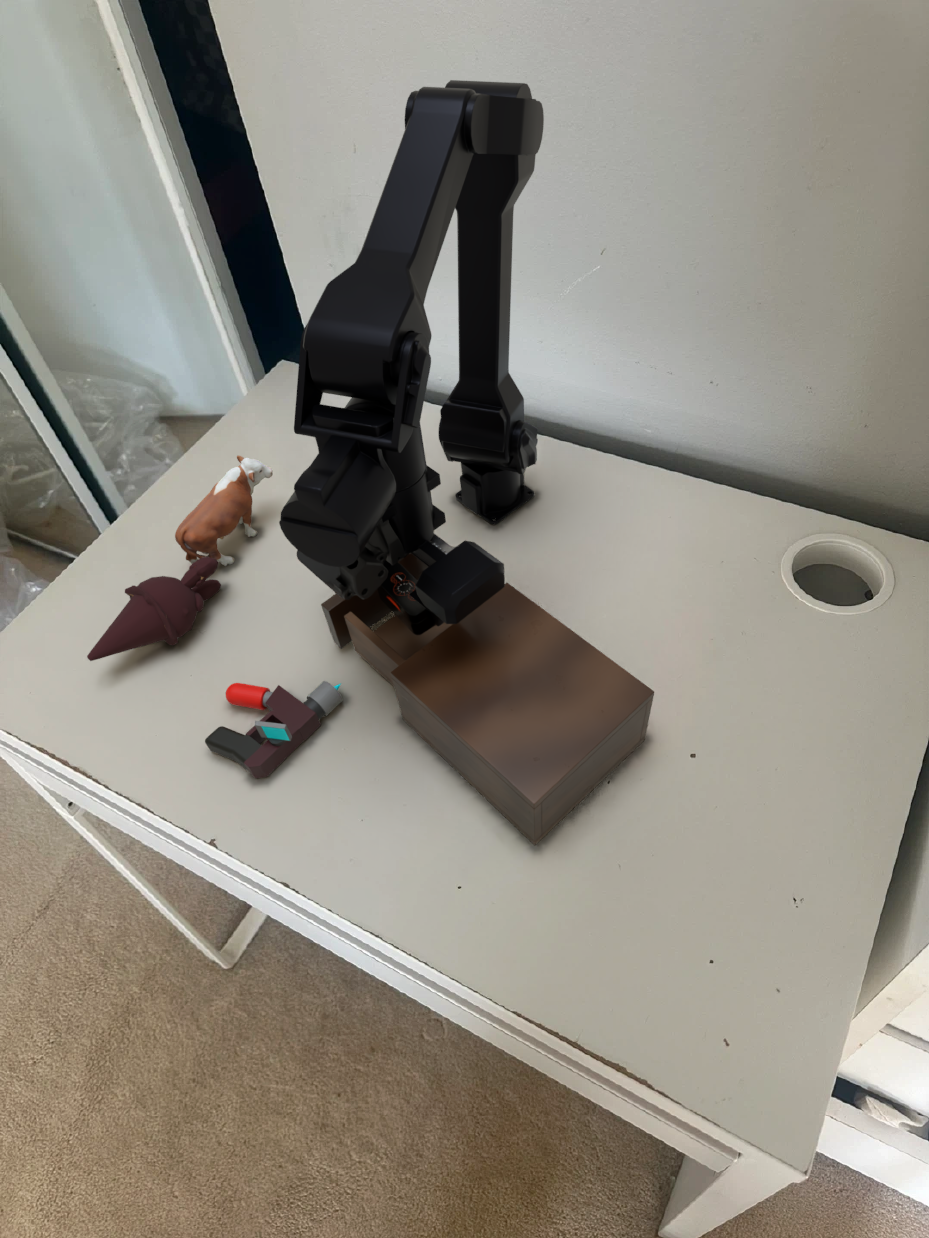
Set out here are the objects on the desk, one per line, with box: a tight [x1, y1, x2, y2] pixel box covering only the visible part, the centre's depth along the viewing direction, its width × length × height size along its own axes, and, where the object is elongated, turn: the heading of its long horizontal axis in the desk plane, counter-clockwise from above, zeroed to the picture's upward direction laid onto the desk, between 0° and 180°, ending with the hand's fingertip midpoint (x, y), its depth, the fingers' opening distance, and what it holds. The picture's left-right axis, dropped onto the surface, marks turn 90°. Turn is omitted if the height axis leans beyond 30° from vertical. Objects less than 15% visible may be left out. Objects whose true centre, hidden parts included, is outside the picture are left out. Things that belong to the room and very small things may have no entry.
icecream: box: [86, 557, 222, 662], centre depth 77 cm, size 7×7×15 cm
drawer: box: [320, 553, 452, 687], centre depth 74 cm, size 20×12×6 cm, turn 43°
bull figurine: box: [174, 455, 274, 567], centre depth 84 cm, size 4×13×8 cm, turn 148°
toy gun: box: [204, 680, 344, 779], centre depth 71 cm, size 10×12×5 cm
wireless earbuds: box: [378, 563, 436, 635], centre depth 71 cm, size 5×7×3 cm, turn 38°
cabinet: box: [390, 582, 655, 846], centre depth 67 cm, size 17×14×8 cm
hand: (415, 600), depth 71 cm, fingers closed on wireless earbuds, 7 cm apart
